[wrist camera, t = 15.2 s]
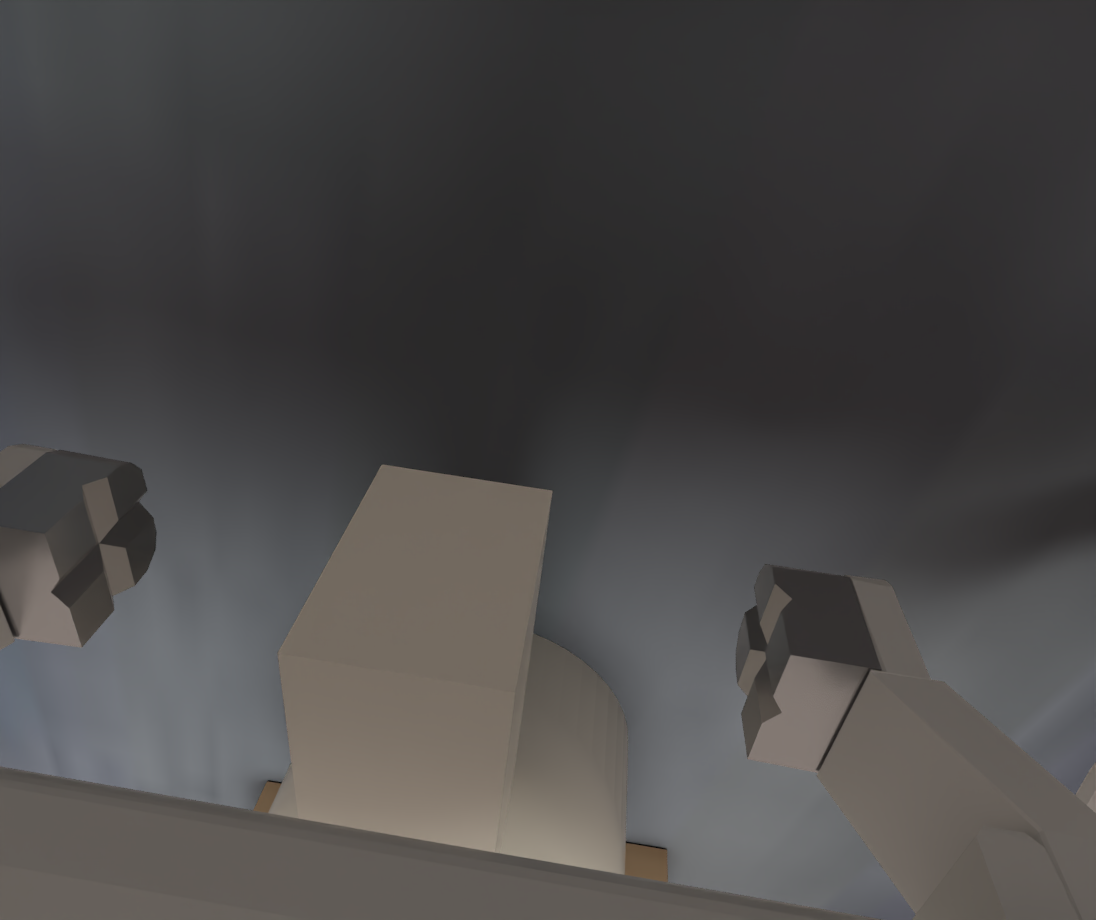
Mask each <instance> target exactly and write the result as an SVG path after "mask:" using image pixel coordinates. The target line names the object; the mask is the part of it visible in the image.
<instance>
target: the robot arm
mask: <svg viewBox="0 0 1096 920" xmlns="http://www.w3.org/2000/svg"><path fill="white" fill-rule="evenodd" d="M146 491H147V487H146V484H145V480H144V476H143V473H142V469H140V468H139V467H137V466H136V465H134V464H132V463H130V462H125V461H119V460H114V459H108V458H103V457H97V456H92V455H86V454H81V453H75V452H70V451H64V450H55V449H51V448H45V447H39V446H33V445H27V444H19V445H12V446H8V447H7V448H5V449H4V450H2V451H1V452H0V650H1V649H3V648H4V647H6V646H8V645H10V644H12V643H13V642H14V641H15V640H14V638H17V639H24V640H31V641H38V642H45V643H53V644H60V645H67V646H74V647H81V648H82V647H83V646H84V645H85V643H86V642H87V641H88V640H89V639H90V638H91V636H92V635H93V634H94V633H95V632H96V631H97V629H98V628H99V627H100V626H101V625H102V624H103V622H104V621H105V620H106V619H107V618H108V617H109V615H110V614H111V613H112V612H113V611H114V601H113V596H114V595H116V594H118V593H120V592H122V591H124V590H127V589H129V588H131V587H133V586H135V585H136V584H137V582H138V581H139V580H140V579H141V577H142V576H143V575H144V574H145V573H146V571H147V570H148V567H149V565H150V562H151V560H152V557H153V555H154V552H155V550H156V528H155V523H154V518H153V517H152V515H151V514H150V513H149V512H148V511H147V510H146V509H145V508H144V507H143V506H142V505H141V504H140V502H139V501H140V500H141V498H142V497H143V496H144V494H145V493H146ZM754 591H755V597H756V603H757V605H756V606H754V607H753V608H751V609H750V610H748V611H747V612H745V614H744V617H743V620H742V623H741V627H740V630H739V634H738V641H737V647H736V675H737V684H738V686H739V687H740V688H741V689H742V690H743V691H744V693H745V694H746V695H747V696H748V697H747V699H746V702H745V705H744V708H743V710H742V713H741V715H742V723H743V730H744V737H745V744H746V752H747V759H750V760H755V761H760V762H765V763H770V764H775V765H780V766H786V767H791V768H796V769H801V770H806V771H811V772H816V773H818V774H817V777H818V778H819V780H820V781H821V783H822V784H823V785H824V787H825V788H826V790H827V791H828V792H829V794H830V795H831V797H832V798H833V799H834V801H835V802H836V804H837V805H838V806H839V808H840V809H841V811H842V812H843V813H844V815H845V816H846V818H847V819H848V820H849V822H850V823H851V825H852V826H853V827H854V829H855V830H856V832H857V833H858V834H859V836H860V837H861V838H862V840H863V841H864V843H865V844H866V845H867V847H868V848H869V850H870V851H871V852H872V854H873V855H874V857H875V858H876V859H877V861H878V862H879V864H880V865H881V866H882V868H883V869H884V871H885V872H886V873H887V875H888V876H889V878H890V879H891V880H892V882H893V883H894V885H895V886H896V887H897V889H898V890H899V892H900V893H901V894H902V896H903V897H904V899H905V900H906V901H907V903H908V904H909V906H910V907H911V908H912V910H913V911H914V912H915V914H916V915H915V917H914V918H913V919H912V920H1096V813H1095V812H1094V811H1093V810H1092V809H1090V808H1089V807H1088V806H1087V805H1086V804H1085V803H1083V802H1082V801H1081V800H1080V799H1079V798H1078V797H1077V796H1075V795H1074V794H1073V793H1072V792H1071V791H1070V790H1068V789H1067V788H1066V787H1065V786H1064V785H1063V784H1062V783H1060V782H1059V781H1058V780H1057V779H1056V778H1055V777H1053V776H1052V775H1051V774H1050V773H1049V772H1048V771H1046V770H1045V769H1044V768H1043V767H1042V766H1041V765H1040V764H1038V763H1037V762H1036V761H1035V760H1034V759H1033V758H1031V757H1030V756H1029V755H1028V754H1027V753H1026V752H1024V751H1023V750H1022V749H1021V748H1020V747H1019V746H1018V745H1016V744H1015V743H1014V742H1013V741H1012V740H1011V739H1009V738H1008V737H1007V736H1006V735H1005V734H1004V733H1002V732H1001V731H1000V730H999V729H998V728H997V727H996V726H994V725H993V724H992V723H991V722H990V721H989V720H987V719H986V718H985V717H984V716H983V715H982V714H980V713H979V712H978V711H977V710H976V709H975V708H974V707H972V706H971V705H970V704H969V703H968V702H967V701H965V700H964V699H963V698H962V697H961V696H960V695H958V694H957V693H956V692H955V691H954V690H953V689H952V688H950V687H949V686H948V685H947V684H946V683H945V682H942V681H937V680H931V678H930V676H929V673H928V671H927V669H926V666H925V664H924V661H923V659H922V657H921V654H920V652H919V649H918V647H917V645H916V642H915V640H914V638H913V635H912V633H911V630H910V628H909V626H908V623H907V621H906V618H905V616H904V614H903V611H902V609H901V606H900V604H899V602H898V599H897V597H896V595H895V592H894V590H893V587H892V586H891V585H890V584H889V583H888V582H887V581H886V580H881V579H873V578H866V577H858V576H851V575H844V576H841V575H835V574H829V573H822V572H816V571H809V570H803V569H796V568H790V567H783V566H777V565H770V564H765V565H764V566H763V568H762V569H761V570H760V572H759V575H758V577H757V580H756V583H755V585H754ZM0 920H882V919H876V918H870V917H865V916H859V915H853V914H847V913H842V912H836V911H830V910H824V909H819V908H813V907H807V906H801V905H796V904H790V903H784V902H778V901H773V900H767V899H761V898H755V897H750V896H744V895H738V894H732V893H727V892H721V891H715V890H709V889H704V888H698V887H692V886H686V885H681V884H675V883H669V882H663V881H658V880H652V879H646V878H640V877H634V876H629V875H623V874H617V873H611V872H605V871H600V870H594V869H588V868H582V867H576V866H571V865H565V864H559V863H553V862H547V861H542V860H536V859H530V858H524V857H518V856H513V855H507V854H501V853H495V852H489V851H484V850H478V849H472V848H466V847H460V846H455V845H449V844H443V843H437V842H431V841H425V840H420V839H414V838H408V837H402V836H397V835H391V834H385V833H379V832H374V831H368V830H362V829H356V828H351V827H345V826H339V825H334V824H328V823H322V822H316V821H311V820H305V819H299V818H293V817H288V816H282V815H276V814H271V813H265V812H259V811H253V810H248V809H242V808H236V807H230V806H225V805H219V804H213V803H208V802H202V801H196V800H190V799H185V798H179V797H173V796H167V795H162V794H156V793H150V792H144V791H139V790H133V789H127V788H122V787H116V786H110V785H104V784H99V783H93V782H87V781H81V780H75V779H70V778H64V777H58V776H52V775H47V774H41V773H35V772H29V771H24V770H18V769H12V768H6V767H1V766H0Z"/></svg>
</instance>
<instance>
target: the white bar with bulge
mask: <svg viewBox="0 0 1096 920" xmlns="http://www.w3.org/2000/svg"><path fill="white" fill-rule="evenodd" d="M552 492H553V491H551V490H545V489H538V488H532V487H525V486H519V485H512V484H506V483H499V482H493V481H486V480H480V479H473V478H467V477H460V476H454V475H447V474H441V473H434V472H428V471H421V470H415V469H408V468H402V467H395V466H389V465H381V467H380V469H379V470H378V472H377V474H376V476H375V478H374V479H373V481H372V483H371V485H370V487H369V488H368V490H367V492H366V494H365V496H364V498H363V499H362V501H361V503H360V505H359V507H358V508H357V510H356V512H355V514H354V516H353V517H352V519H351V521H350V523H349V525H348V527H347V528H346V530H345V532H344V534H343V536H342V537H341V539H340V541H339V543H338V545H337V546H336V548H335V550H334V552H333V554H332V555H331V557H330V559H329V561H328V563H327V565H326V566H325V568H324V570H323V572H322V574H321V575H320V577H319V579H318V581H317V583H316V584H315V586H314V588H313V590H312V592H311V594H310V595H309V597H308V599H307V601H306V603H305V604H304V606H303V608H302V610H301V612H300V613H299V615H298V617H297V619H296V621H295V623H294V624H293V626H292V628H291V630H290V632H289V633H288V635H287V637H286V639H285V641H284V642H283V644H282V646H281V648H280V650H279V651H278V653H277V654H278V661H279V669H280V677H281V685H282V693H283V701H284V709H285V717H286V724H287V732H288V740H289V748H290V756H291V764H290V766H289V768H288V771H287V773H286V775H285V777H284V779H283V782H282V784H281V786H280V788H279V790H278V793H277V795H276V797H275V799H274V801H273V803H272V806H271V808H270V810H269V812H268V813H271V814H276V815H282V816H288V817H293V818H299V819H305V820H311V821H316V822H322V823H328V824H334V825H339V826H345V827H351V828H356V829H362V830H368V831H374V832H379V833H385V834H391V835H397V836H402V837H408V838H414V839H420V840H425V841H431V842H437V843H443V844H449V845H455V846H460V847H466V848H472V849H478V850H484V851H489V852H495V853H501V854H507V855H513V856H518V857H524V858H530V859H536V860H542V861H547V862H553V863H559V864H565V865H571V866H576V867H582V868H588V869H594V870H600V871H605V872H611V873H617V874H623V875H625V852H626V811H627V771H628V728H627V724H626V720H625V716H624V713H623V711H622V708H621V706H620V704H619V702H618V700H617V698H616V697H615V695H614V694H613V692H612V691H611V689H610V688H609V686H608V685H607V684H606V683H605V682H604V681H603V679H602V678H601V677H600V676H599V675H598V674H597V673H596V672H595V671H594V670H593V669H592V668H590V667H589V666H588V665H587V664H586V663H585V662H584V661H582V660H581V659H579V658H578V657H576V656H575V655H574V654H572V653H571V652H569V651H568V650H566V649H564V648H562V647H561V646H559V645H557V644H555V643H553V642H551V641H550V640H548V639H545V638H543V637H540V636H538V635H536V634H533V630H534V623H535V616H536V608H537V601H538V594H539V587H540V579H541V572H542V565H543V558H544V550H545V543H546V536H547V528H548V521H549V514H550V507H551V499H552Z"/></svg>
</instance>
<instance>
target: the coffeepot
mask: <svg viewBox="0 0 1096 920" xmlns="http://www.w3.org/2000/svg"><path fill="white" fill-rule="evenodd" d="M1075 796H1077V797H1078V798H1079V799H1080V800H1081V801H1082V802H1083V803H1085V804H1086V805H1087V806H1088V807H1089V808H1090V809H1092V810H1093V811H1094V812H1095V813H1096V762H1095V764H1094V765H1093V766H1092V768H1091V769H1090V771H1089V772H1088V774H1087V776H1086V777H1085V779H1084V781H1083V782H1082V784H1081V786H1080V788H1079V789H1078V791H1077V793H1076V795H1075Z"/></svg>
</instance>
